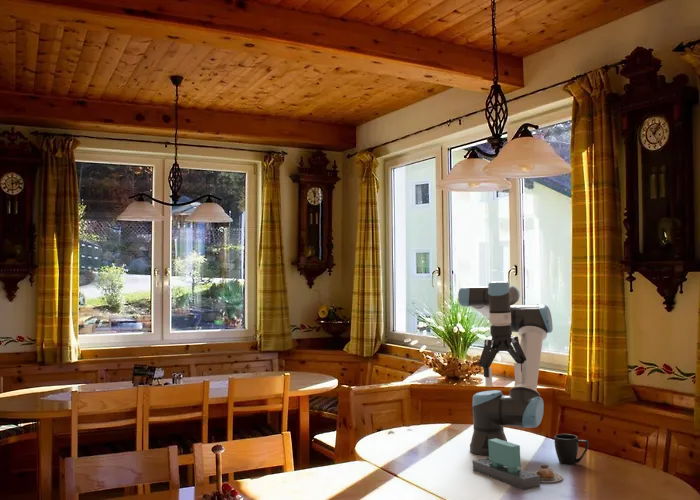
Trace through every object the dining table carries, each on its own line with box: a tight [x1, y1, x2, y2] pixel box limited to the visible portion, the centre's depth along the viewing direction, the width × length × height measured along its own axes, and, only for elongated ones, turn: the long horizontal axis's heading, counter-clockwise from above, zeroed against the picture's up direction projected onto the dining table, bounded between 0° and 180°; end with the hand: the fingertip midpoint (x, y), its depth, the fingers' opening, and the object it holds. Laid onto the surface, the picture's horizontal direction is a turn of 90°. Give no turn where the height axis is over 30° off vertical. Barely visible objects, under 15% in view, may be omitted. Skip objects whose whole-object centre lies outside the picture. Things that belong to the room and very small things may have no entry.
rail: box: [472, 457, 541, 491], centre depth 221 cm, size 26×7×4 cm, turn 27°
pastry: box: [530, 464, 564, 484], centre depth 219 cm, size 12×12×5 cm
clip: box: [488, 438, 522, 473], centre depth 221 cm, size 12×4×12 cm, turn 27°
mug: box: [553, 433, 590, 466], centre depth 235 cm, size 8×12×10 cm
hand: (503, 383), depth 232 cm, fingers open, 13 cm apart
